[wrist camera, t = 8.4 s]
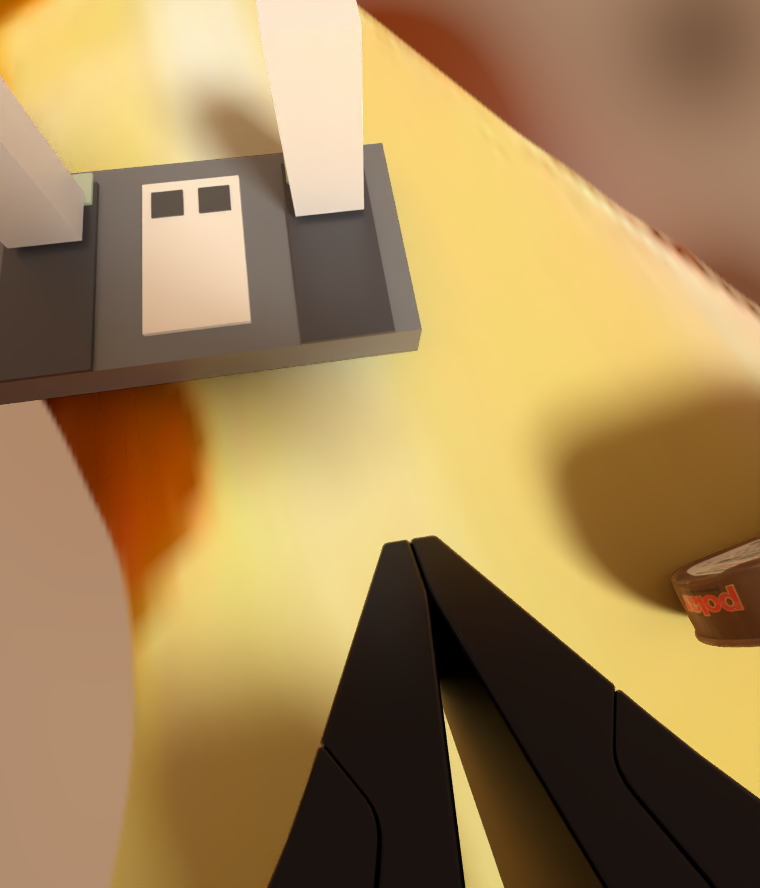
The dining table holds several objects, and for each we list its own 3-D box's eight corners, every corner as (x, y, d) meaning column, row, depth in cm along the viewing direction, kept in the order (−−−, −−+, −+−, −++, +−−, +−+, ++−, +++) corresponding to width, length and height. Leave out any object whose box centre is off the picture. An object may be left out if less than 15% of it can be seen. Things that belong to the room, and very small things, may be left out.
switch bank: (417, 350, 24) (422, 325, 22) (-4, 405, 22) (-45, 384, 20) (381, 174, 27) (382, 137, 25) (16, 211, 26) (-18, 175, 24)
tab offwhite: (364, 209, 23) (361, 26, 16) (295, 216, 23) (260, 33, 16) (355, 164, 24) (349, -30, 17) (289, 171, 24) (253, -23, 16)
